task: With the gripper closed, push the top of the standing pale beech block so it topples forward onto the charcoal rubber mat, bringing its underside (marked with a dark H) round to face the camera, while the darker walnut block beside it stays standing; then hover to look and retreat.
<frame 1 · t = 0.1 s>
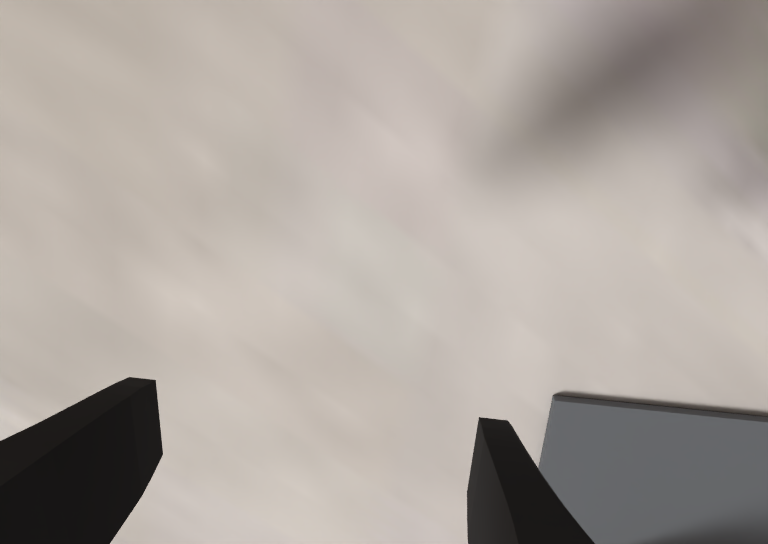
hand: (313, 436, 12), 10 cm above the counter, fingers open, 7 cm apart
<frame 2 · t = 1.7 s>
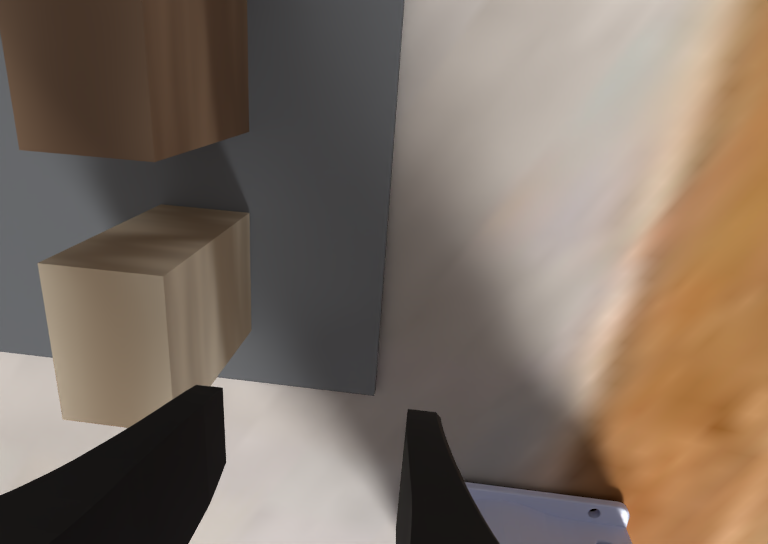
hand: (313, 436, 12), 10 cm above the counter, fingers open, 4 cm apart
walnut block: (199, 54, 19), resting on mat
mat: (172, 189, 21), on the counter
beech block: (208, 268, 22), resting on mat
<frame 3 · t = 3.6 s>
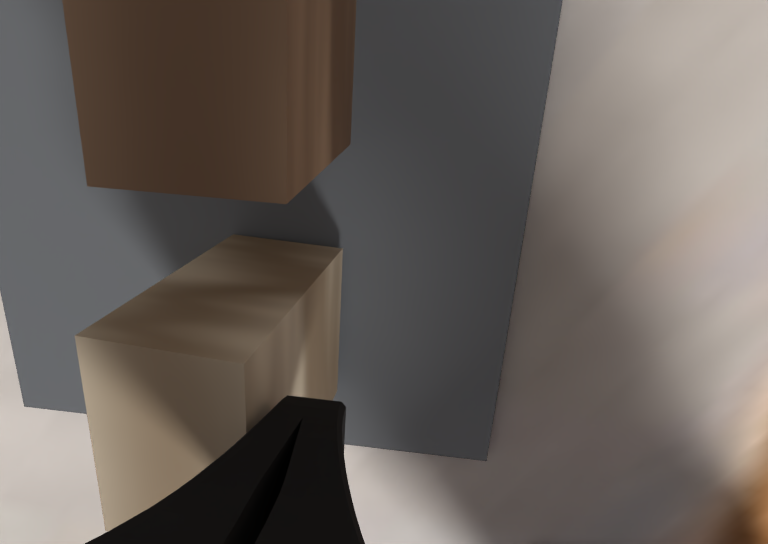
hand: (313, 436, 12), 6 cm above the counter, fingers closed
walnut block: (290, 45, 15), resting on mat
mat: (246, 215, 17), on the counter
beech block: (288, 313, 18), point 1 cm above the counter, tilted 6°, touching mat
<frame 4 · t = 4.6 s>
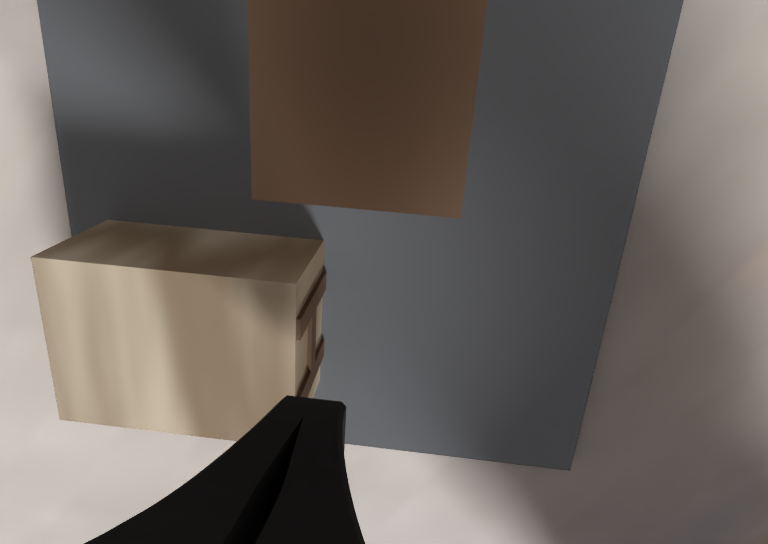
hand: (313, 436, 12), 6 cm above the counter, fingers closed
walnut block: (397, 51, 15), resting on mat
mat: (337, 222, 17), on the counter
beech block: (313, 340, 16), point 2 cm above the counter, tilted 90°, touching mat
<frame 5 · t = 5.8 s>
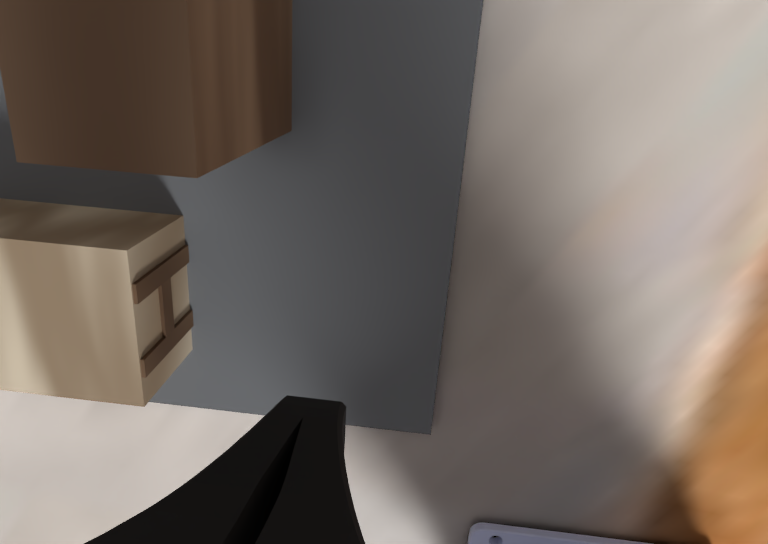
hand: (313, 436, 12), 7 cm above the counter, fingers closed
walnut block: (232, 37, 16), resting on mat
mat: (197, 198, 18), on the counter
beech block: (168, 307, 17), point 2 cm above the counter, tilted 90°, touching mat
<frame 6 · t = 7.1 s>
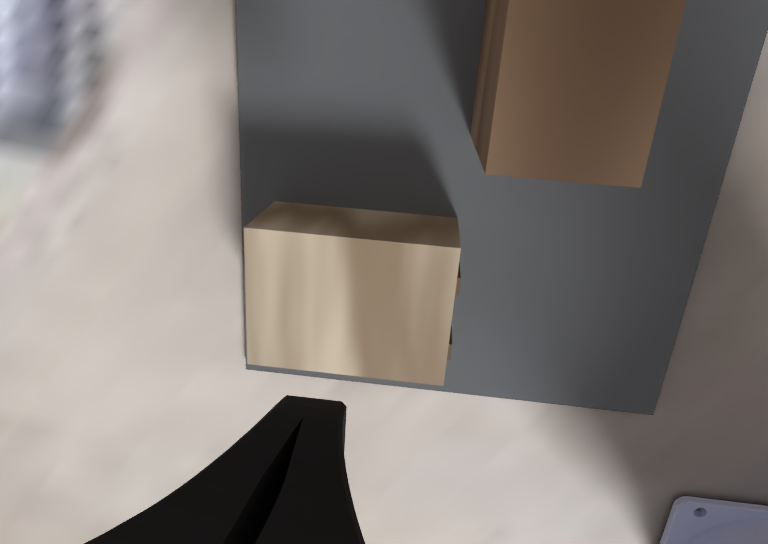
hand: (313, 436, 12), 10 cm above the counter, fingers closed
walnut block: (533, 62, 18), resting on mat
mat: (468, 202, 20), on the counter
beech block: (454, 299, 20), point 2 cm above the counter, tilted 90°, touching mat
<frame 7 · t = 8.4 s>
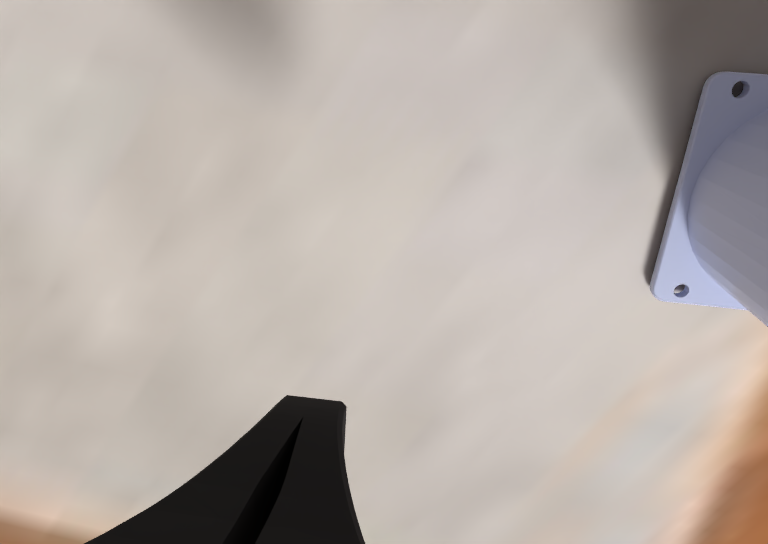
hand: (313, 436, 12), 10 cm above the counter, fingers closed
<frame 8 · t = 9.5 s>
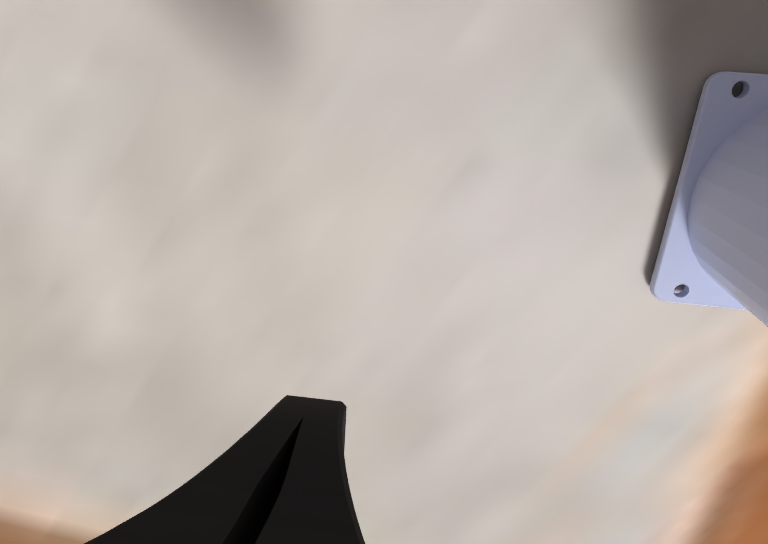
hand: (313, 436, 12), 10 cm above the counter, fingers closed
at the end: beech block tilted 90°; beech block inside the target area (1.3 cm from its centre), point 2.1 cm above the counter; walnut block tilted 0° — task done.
